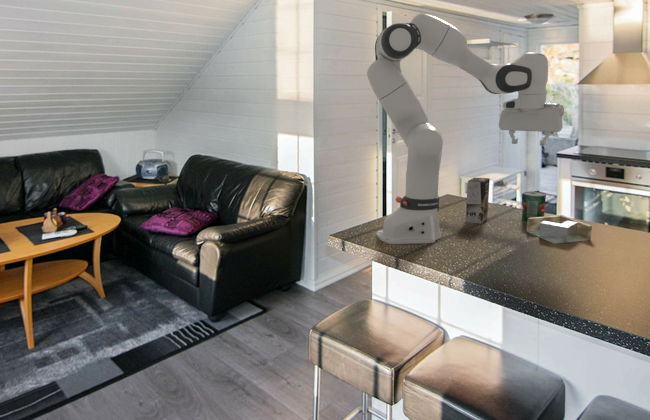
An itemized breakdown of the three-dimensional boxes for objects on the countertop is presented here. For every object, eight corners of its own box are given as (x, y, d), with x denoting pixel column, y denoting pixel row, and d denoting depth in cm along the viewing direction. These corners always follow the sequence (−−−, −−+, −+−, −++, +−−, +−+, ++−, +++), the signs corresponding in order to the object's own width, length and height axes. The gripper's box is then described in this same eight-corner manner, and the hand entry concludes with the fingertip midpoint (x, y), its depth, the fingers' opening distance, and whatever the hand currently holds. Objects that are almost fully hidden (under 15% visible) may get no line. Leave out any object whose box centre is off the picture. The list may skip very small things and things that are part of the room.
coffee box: (481, 224, 195) (484, 182, 191) (464, 222, 198) (466, 180, 194) (488, 218, 202) (490, 178, 198) (471, 216, 206) (473, 176, 202)
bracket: (566, 242, 170) (567, 227, 169) (539, 237, 176) (540, 222, 175) (576, 236, 176) (577, 222, 175) (549, 231, 182) (551, 217, 181)
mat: (553, 243, 170) (554, 242, 170) (526, 231, 184) (526, 230, 184) (590, 240, 173) (590, 239, 173) (560, 228, 187) (560, 227, 187)
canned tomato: (547, 224, 193) (549, 195, 190) (525, 224, 193) (528, 195, 190) (538, 218, 201) (541, 191, 198) (518, 219, 201) (520, 191, 198)
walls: (553, 243, 170) (555, 229, 169) (526, 231, 184) (527, 217, 183) (590, 240, 173) (592, 225, 172) (560, 228, 187) (562, 215, 186)
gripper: (567, 103, 169) (563, 145, 172) (505, 102, 182) (502, 141, 185) (561, 103, 164) (557, 147, 167) (498, 103, 177) (496, 143, 180)
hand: (528, 144), depth 176 cm, fingers open, 8 cm apart
